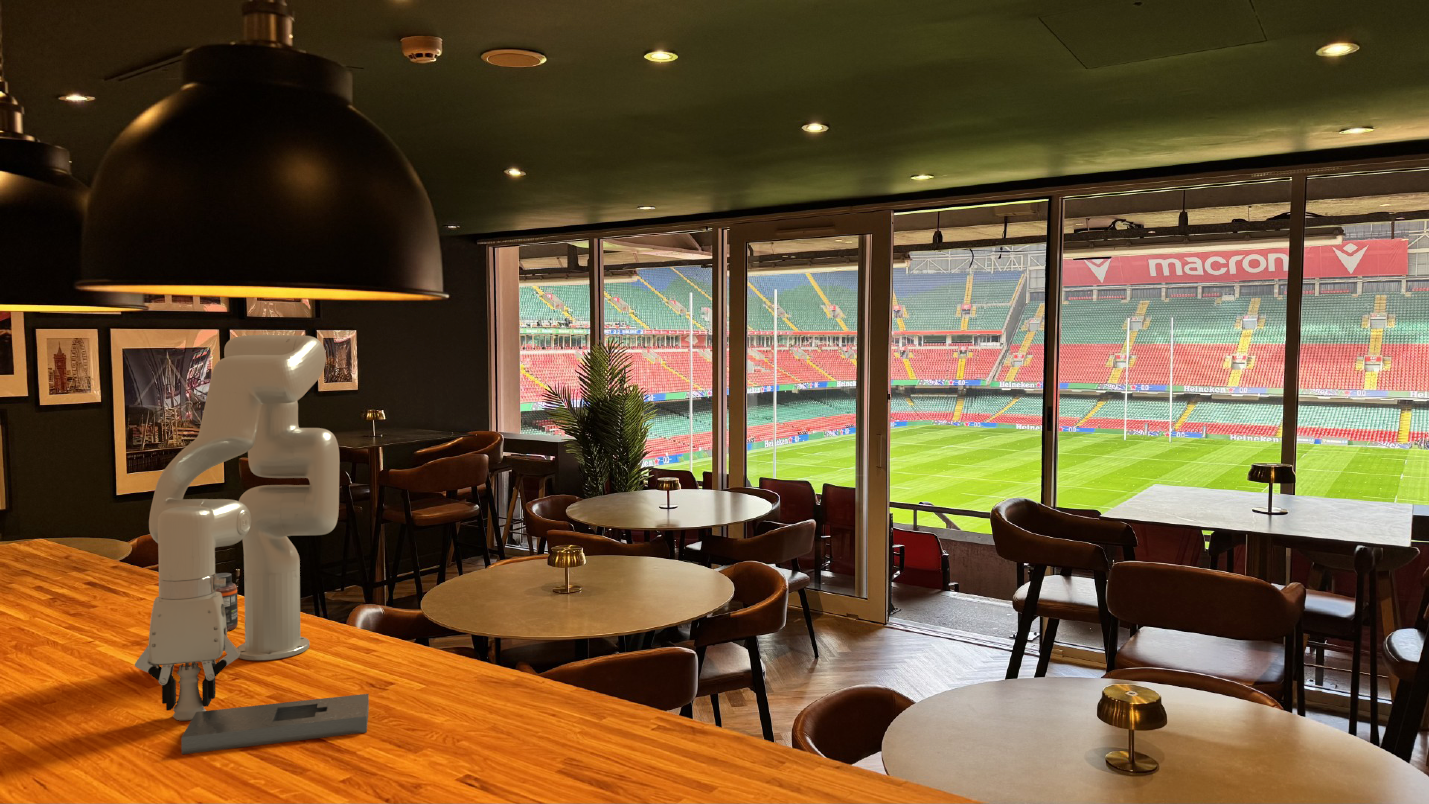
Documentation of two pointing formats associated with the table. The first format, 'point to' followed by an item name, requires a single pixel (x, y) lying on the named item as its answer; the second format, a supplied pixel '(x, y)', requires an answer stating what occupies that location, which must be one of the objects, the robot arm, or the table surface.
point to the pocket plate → (276, 723)
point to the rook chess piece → (188, 693)
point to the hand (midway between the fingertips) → (189, 704)
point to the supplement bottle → (229, 600)
